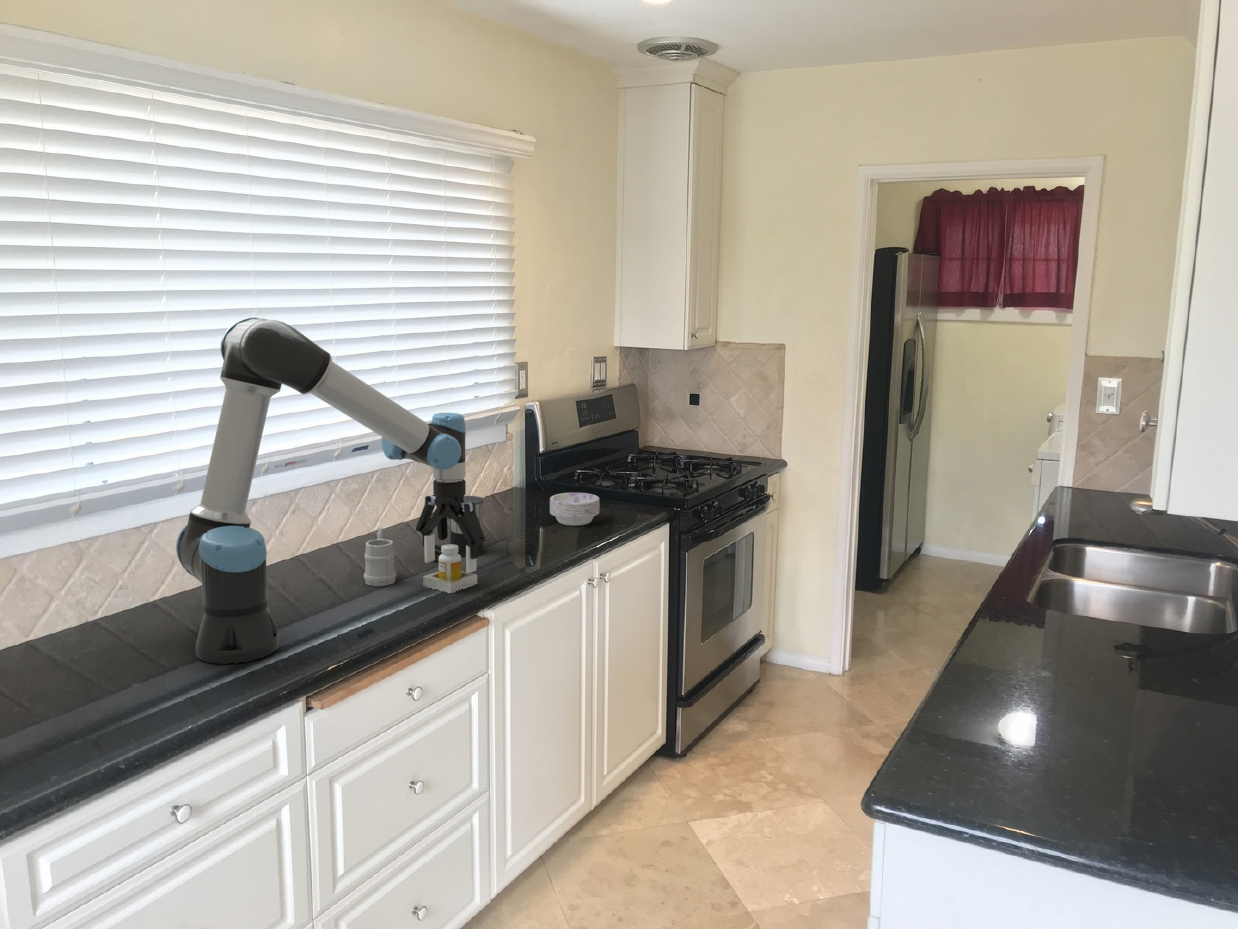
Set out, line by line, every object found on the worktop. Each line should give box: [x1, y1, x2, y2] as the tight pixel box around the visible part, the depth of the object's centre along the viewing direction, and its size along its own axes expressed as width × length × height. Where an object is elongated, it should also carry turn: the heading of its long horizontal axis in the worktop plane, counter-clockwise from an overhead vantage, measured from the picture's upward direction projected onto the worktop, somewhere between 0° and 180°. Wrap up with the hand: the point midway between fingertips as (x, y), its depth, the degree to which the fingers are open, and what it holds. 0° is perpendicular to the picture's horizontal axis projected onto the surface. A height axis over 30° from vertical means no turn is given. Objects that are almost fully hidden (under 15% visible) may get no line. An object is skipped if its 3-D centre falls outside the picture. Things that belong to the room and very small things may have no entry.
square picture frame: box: [422, 570, 478, 594], centre depth 230 cm, size 9×9×2 cm
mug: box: [363, 526, 397, 587], centre depth 232 cm, size 8×12×12 cm, turn 13°
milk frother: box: [435, 495, 486, 562], centre depth 254 cm, size 14×16×15 cm
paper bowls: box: [549, 492, 601, 527], centre depth 294 cm, size 15×15×8 cm
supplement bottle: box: [438, 543, 462, 581], centre depth 229 cm, size 5×5×10 cm
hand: (450, 566), depth 229 cm, fingers open, 13 cm apart
